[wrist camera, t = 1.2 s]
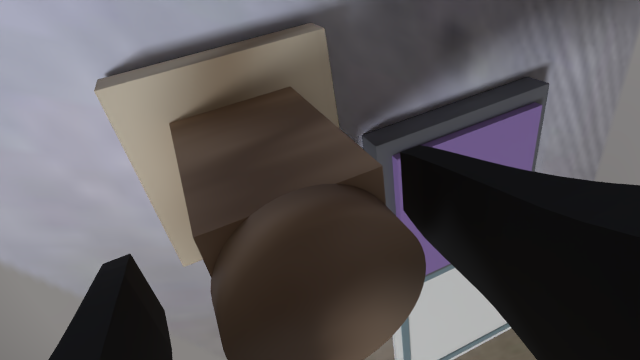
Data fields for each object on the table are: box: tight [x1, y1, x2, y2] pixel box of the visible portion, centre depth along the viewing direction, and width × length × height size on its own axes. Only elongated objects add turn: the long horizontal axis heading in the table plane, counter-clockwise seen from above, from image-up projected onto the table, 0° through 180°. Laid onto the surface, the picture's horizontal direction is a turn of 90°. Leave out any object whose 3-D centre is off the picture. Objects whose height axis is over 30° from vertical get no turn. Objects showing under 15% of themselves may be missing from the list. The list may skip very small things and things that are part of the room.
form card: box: [392, 265, 511, 360], centre depth 26 cm, size 11×11×1 cm
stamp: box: [94, 23, 426, 360], centre depth 11 cm, size 7×7×9 cm
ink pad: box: [362, 77, 549, 277], centre depth 20 cm, size 9×9×2 cm
